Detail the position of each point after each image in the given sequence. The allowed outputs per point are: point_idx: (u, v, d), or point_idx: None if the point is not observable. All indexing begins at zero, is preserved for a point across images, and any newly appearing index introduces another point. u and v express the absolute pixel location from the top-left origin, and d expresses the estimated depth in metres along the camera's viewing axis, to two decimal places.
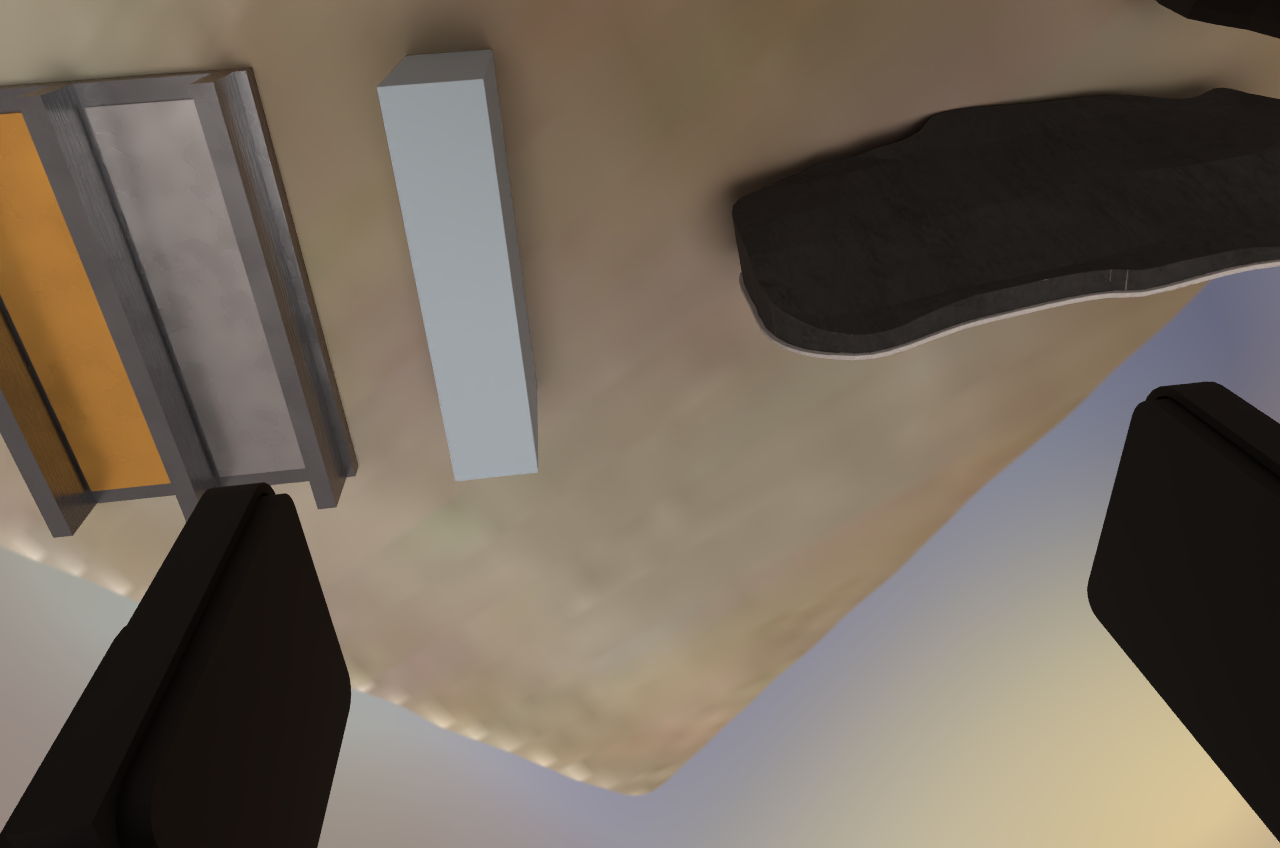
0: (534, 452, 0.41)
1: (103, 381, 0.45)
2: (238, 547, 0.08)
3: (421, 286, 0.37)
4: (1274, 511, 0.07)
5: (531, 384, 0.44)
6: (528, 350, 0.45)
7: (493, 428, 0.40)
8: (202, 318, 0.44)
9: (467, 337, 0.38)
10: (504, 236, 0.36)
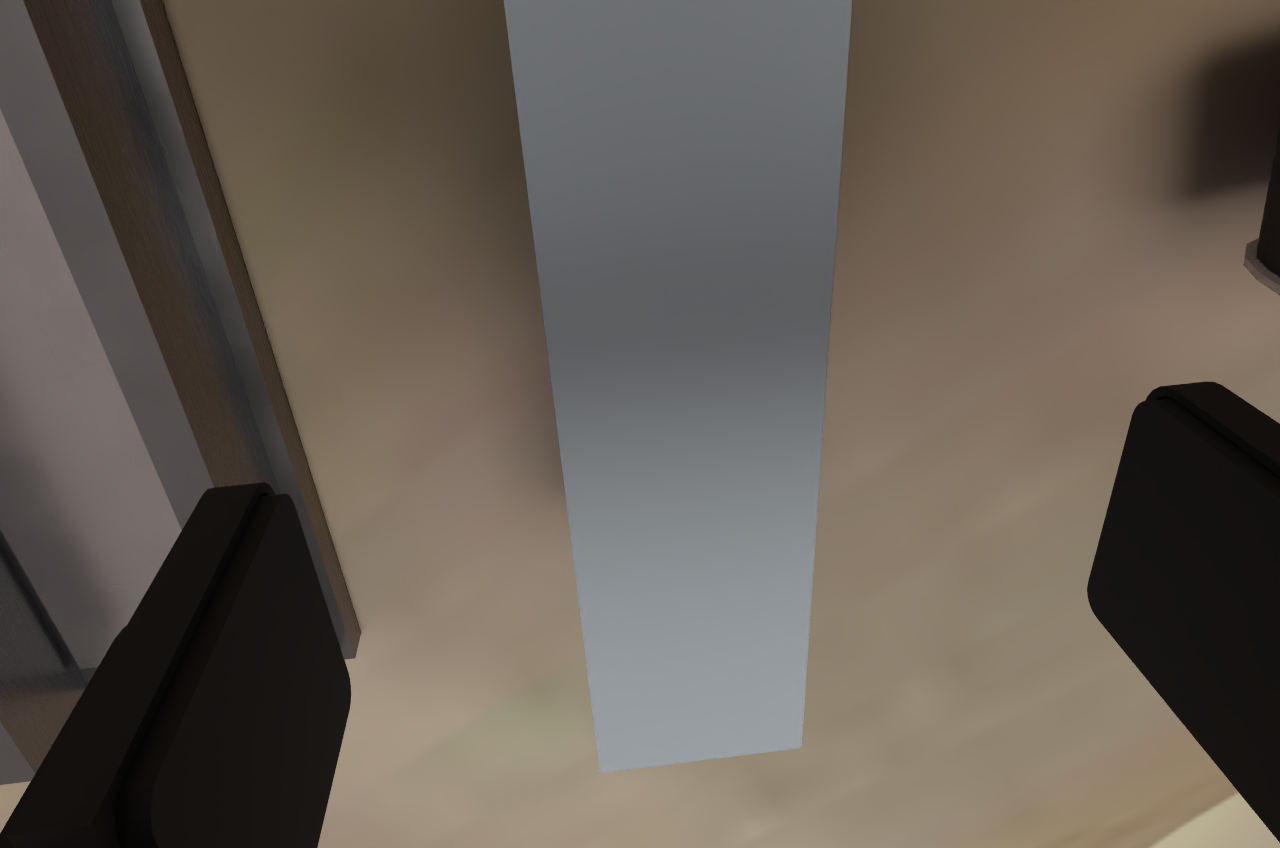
0: (801, 708, 0.17)
1: None
2: (238, 547, 0.08)
3: (556, 299, 0.12)
4: (1274, 511, 0.07)
5: None
6: None
7: (711, 661, 0.16)
8: None
9: (675, 445, 0.13)
10: (838, 137, 0.11)
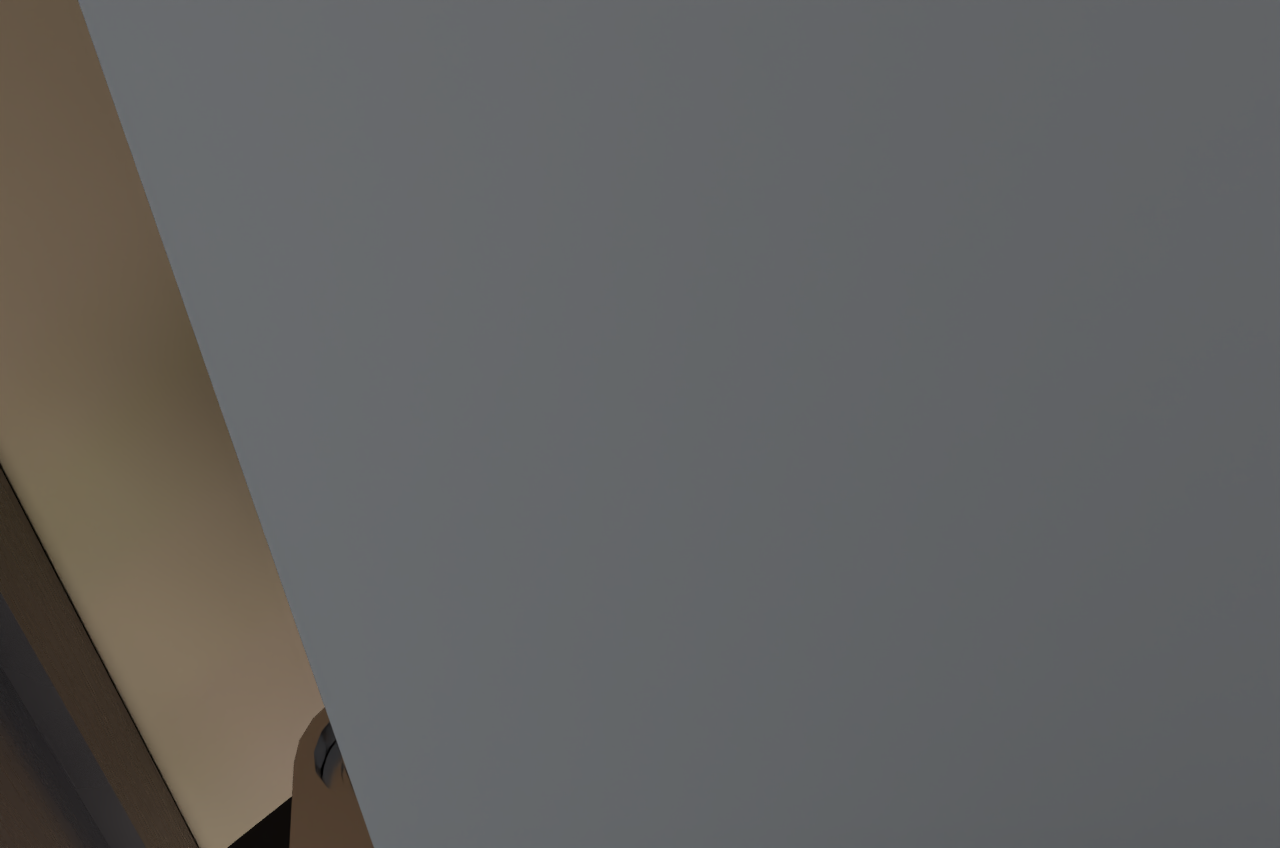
0: None
1: None
2: None
3: None
4: None
5: None
6: None
7: None
8: None
9: None
10: None
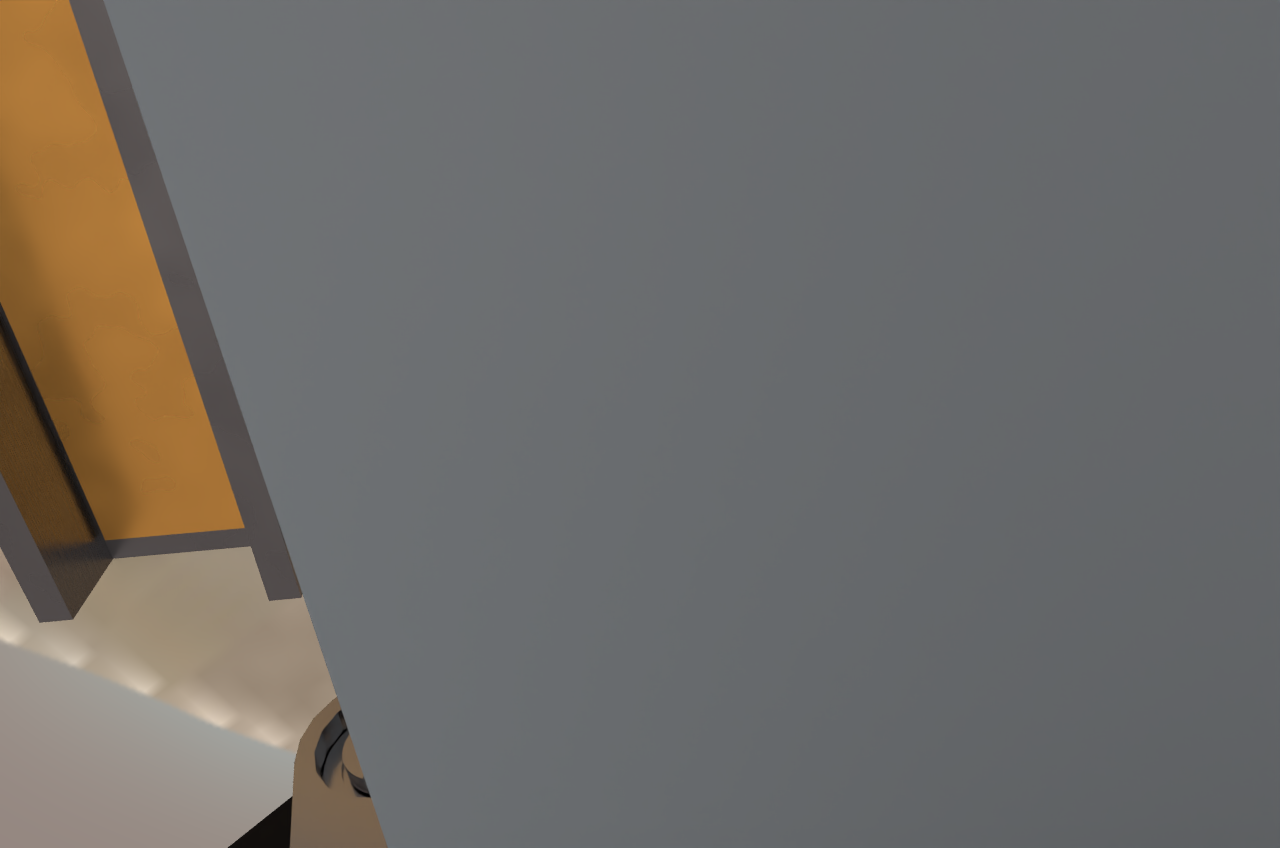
0: None
1: (133, 355, 0.26)
2: None
3: None
4: None
5: None
6: None
7: None
8: None
9: None
10: None
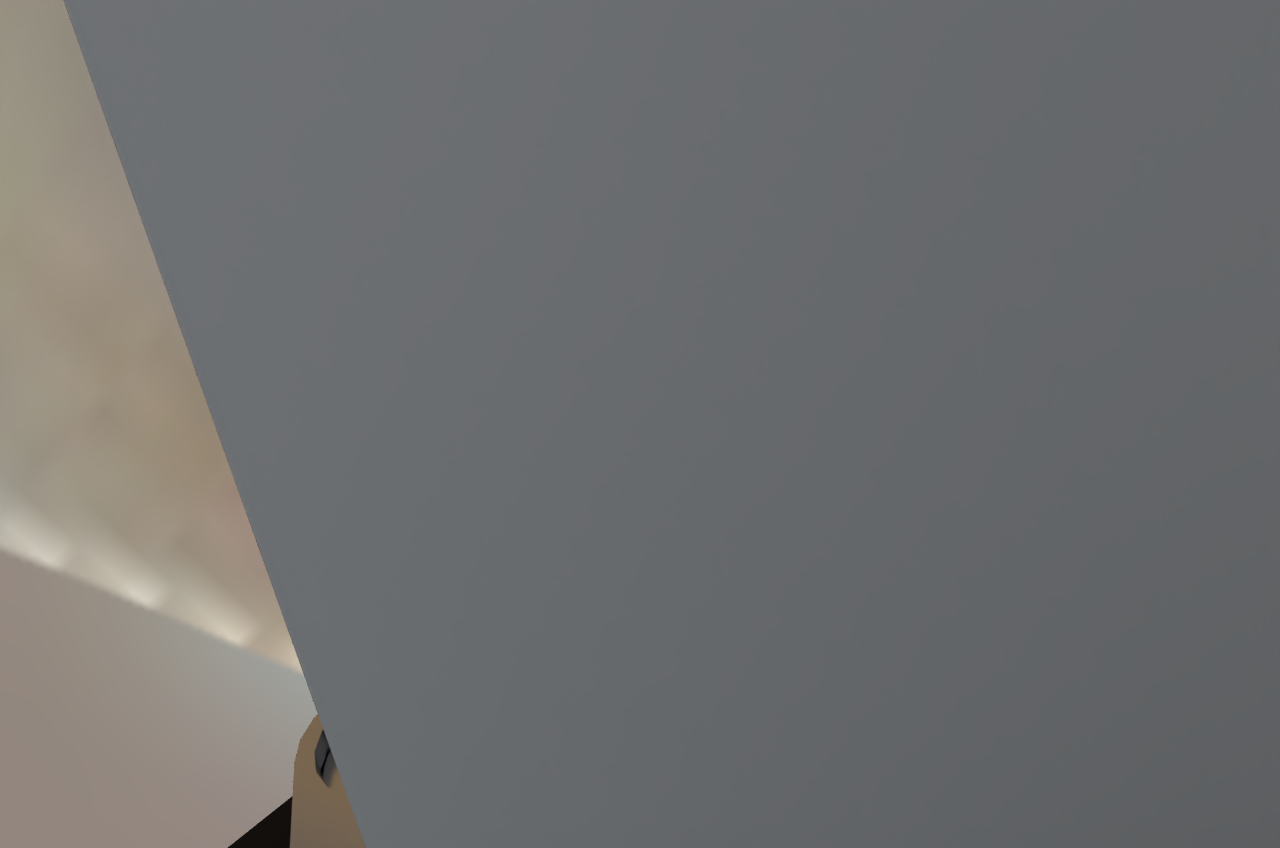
0: None
1: None
2: None
3: None
4: None
5: None
6: None
7: None
8: None
9: None
10: None
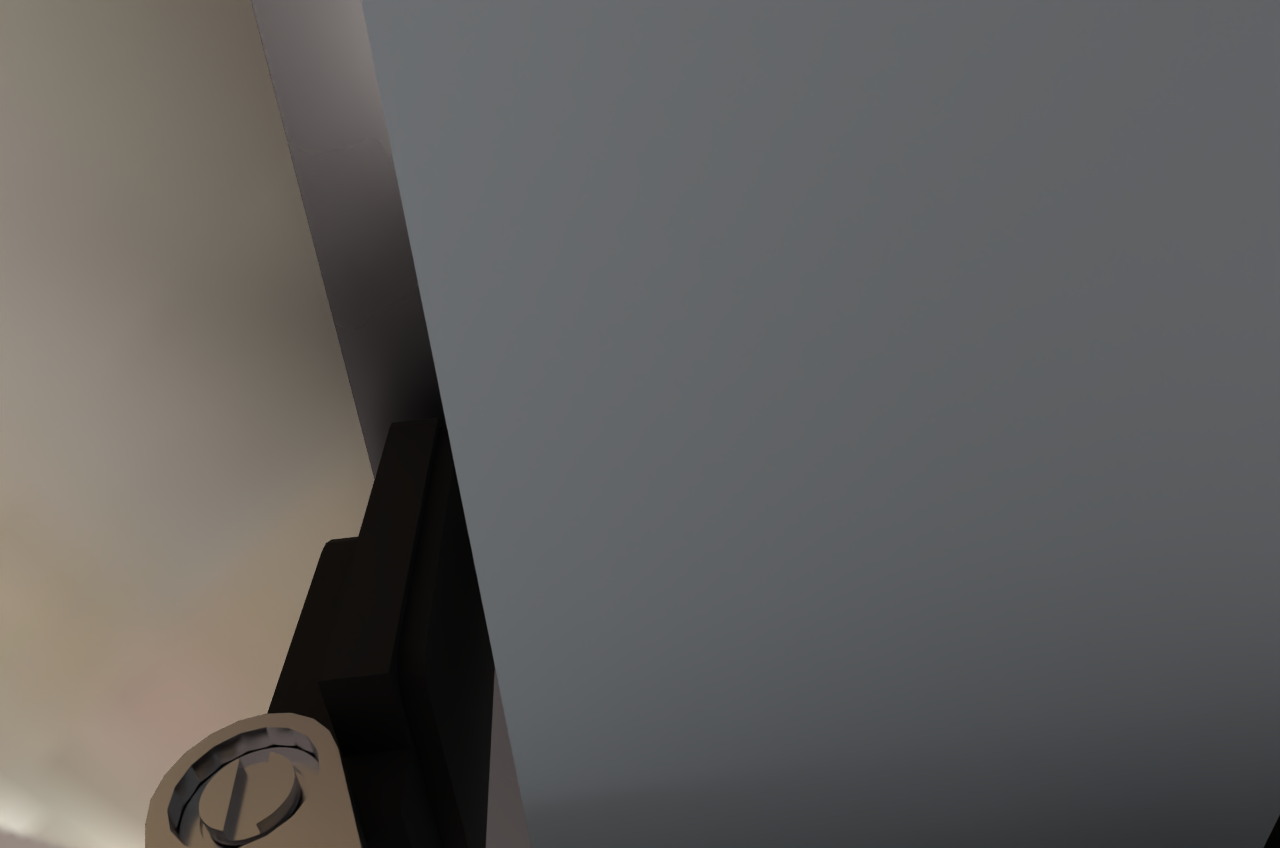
0: None
1: None
2: (436, 468, 0.09)
3: None
4: None
5: None
6: None
7: None
8: None
9: None
10: None
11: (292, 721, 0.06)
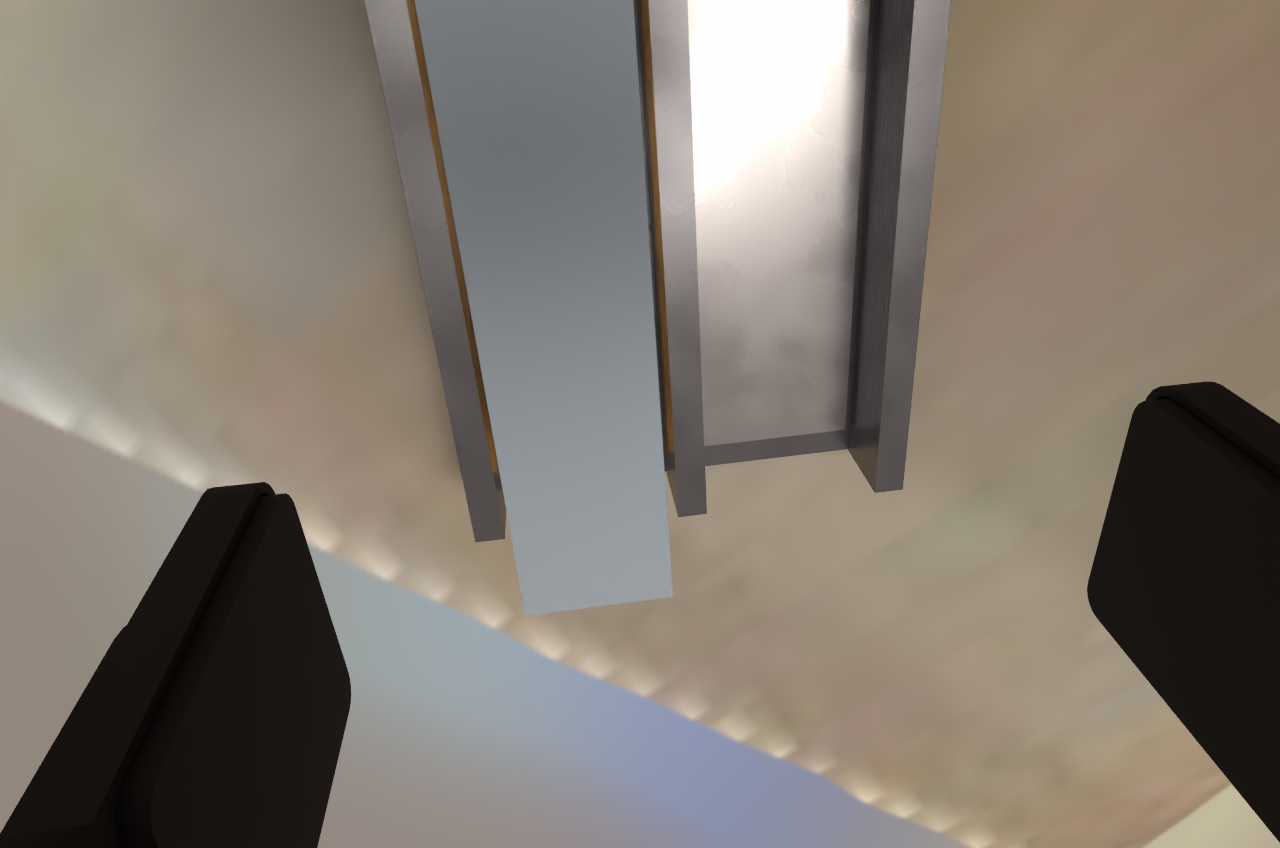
0: (668, 563, 0.23)
1: None
2: (238, 547, 0.08)
3: (470, 257, 0.18)
4: (1274, 511, 0.07)
5: None
6: None
7: (598, 523, 0.22)
8: (747, 183, 0.27)
9: (557, 357, 0.20)
10: (641, 151, 0.18)
11: None
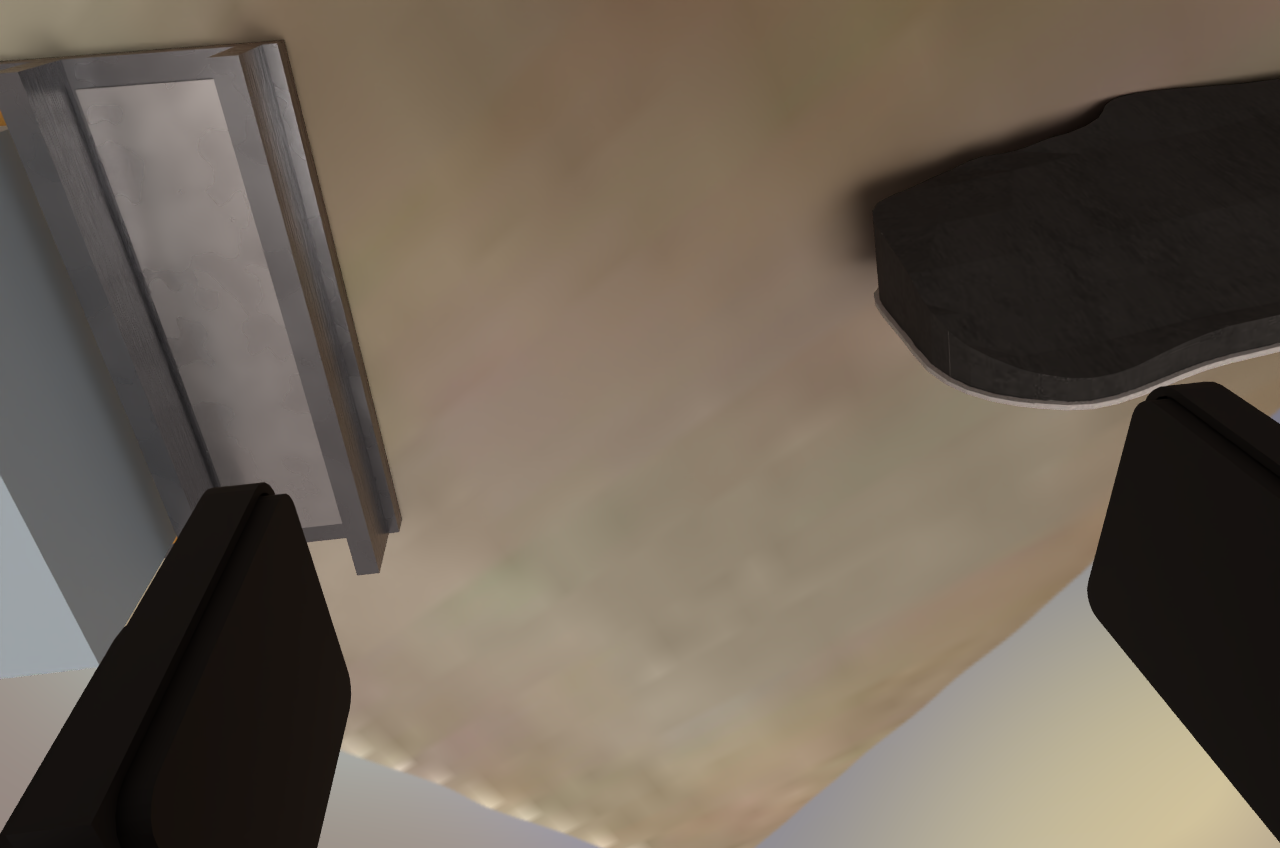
0: (87, 644, 0.32)
1: None
2: (238, 547, 0.08)
3: None
4: (1273, 511, 0.07)
5: (119, 542, 0.35)
6: (122, 497, 0.35)
7: (21, 618, 0.31)
8: (220, 348, 0.36)
9: None
10: None
11: None
